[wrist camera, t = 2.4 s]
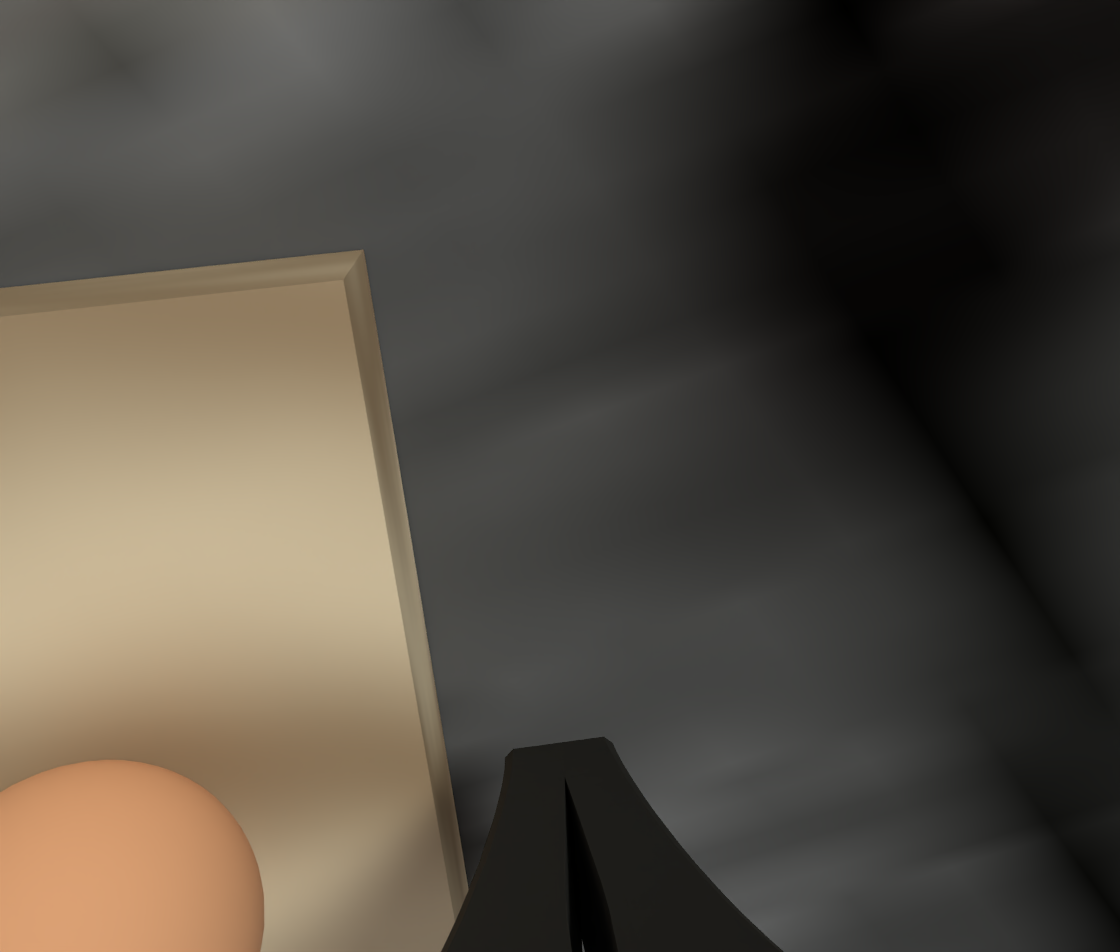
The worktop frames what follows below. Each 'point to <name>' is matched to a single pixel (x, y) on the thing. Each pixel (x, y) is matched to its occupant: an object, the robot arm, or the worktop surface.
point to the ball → (124, 864)
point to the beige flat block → (229, 579)
